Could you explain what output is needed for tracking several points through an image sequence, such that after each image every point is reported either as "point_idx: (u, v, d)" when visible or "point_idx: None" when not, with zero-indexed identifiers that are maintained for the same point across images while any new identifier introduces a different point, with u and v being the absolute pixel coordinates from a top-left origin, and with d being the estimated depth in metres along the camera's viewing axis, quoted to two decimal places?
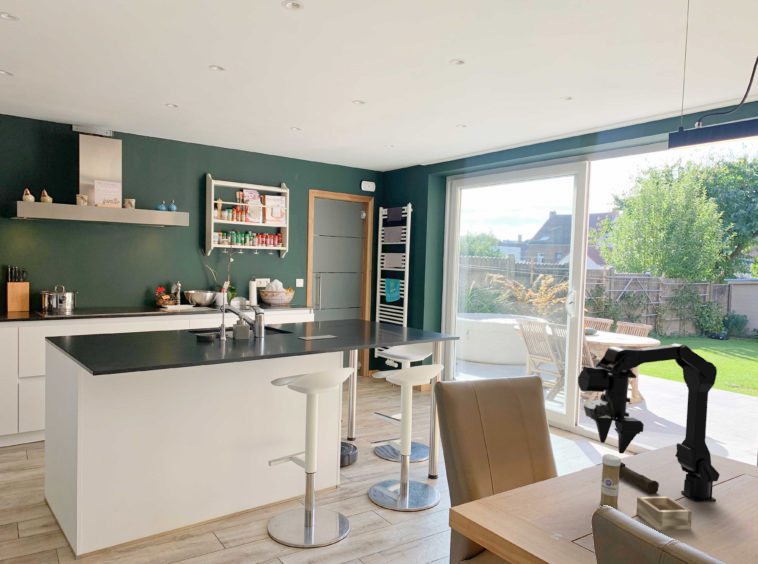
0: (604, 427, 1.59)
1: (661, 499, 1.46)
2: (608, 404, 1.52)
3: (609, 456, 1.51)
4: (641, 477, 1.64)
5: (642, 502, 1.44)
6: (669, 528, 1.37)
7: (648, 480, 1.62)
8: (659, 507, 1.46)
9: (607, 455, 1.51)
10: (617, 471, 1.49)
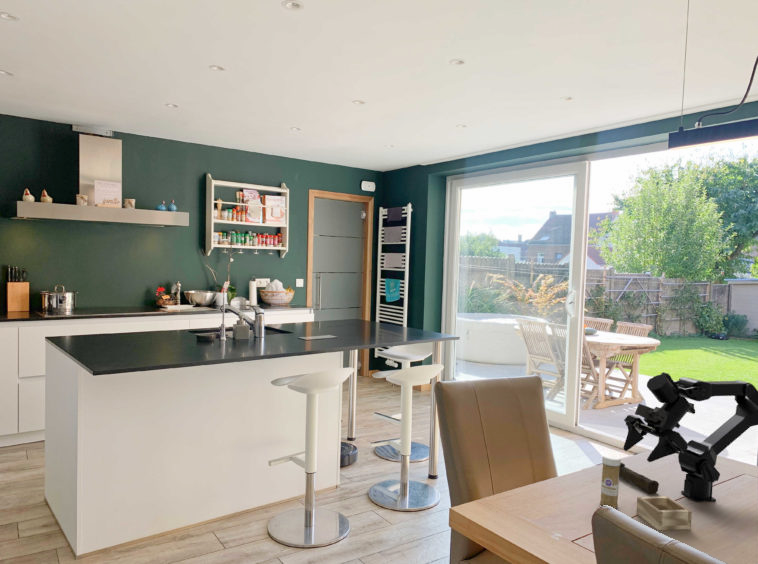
0: (634, 439, 1.58)
1: (661, 499, 1.46)
2: None
3: (609, 456, 1.51)
4: (641, 477, 1.64)
5: (642, 502, 1.44)
6: (669, 528, 1.37)
7: (648, 480, 1.62)
8: (659, 507, 1.46)
9: (607, 455, 1.51)
10: (617, 471, 1.49)
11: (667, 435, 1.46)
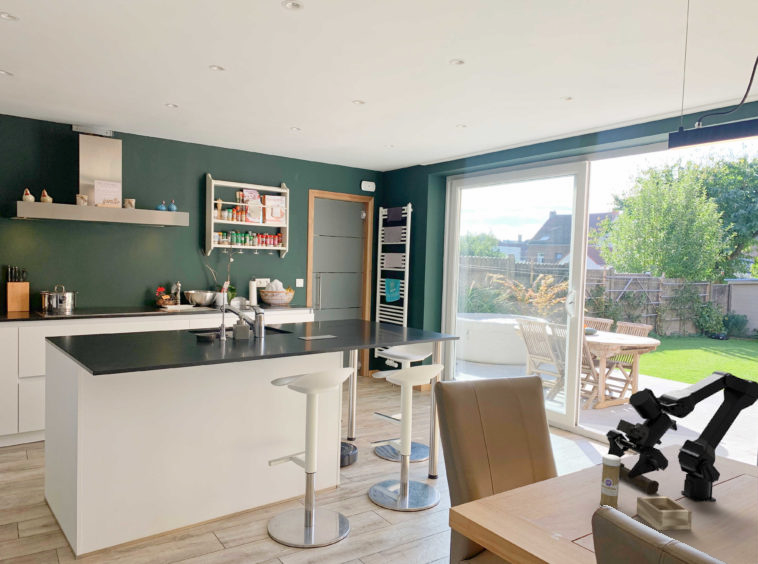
0: (615, 454, 1.56)
1: (661, 499, 1.46)
2: None
3: (609, 456, 1.51)
4: (641, 477, 1.64)
5: (642, 502, 1.44)
6: (669, 528, 1.37)
7: (648, 480, 1.62)
8: (659, 507, 1.46)
9: (607, 455, 1.51)
10: (617, 471, 1.49)
11: (648, 452, 1.45)
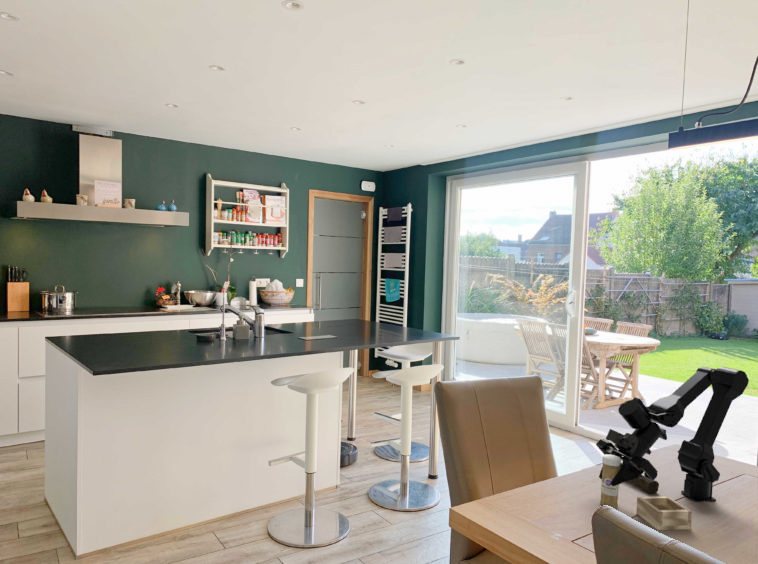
0: None
1: (661, 499, 1.46)
2: None
3: (609, 456, 1.51)
4: None
5: (642, 502, 1.44)
6: (669, 528, 1.37)
7: (648, 480, 1.62)
8: (659, 507, 1.46)
9: (607, 455, 1.51)
10: (617, 471, 1.49)
11: (637, 462, 1.44)
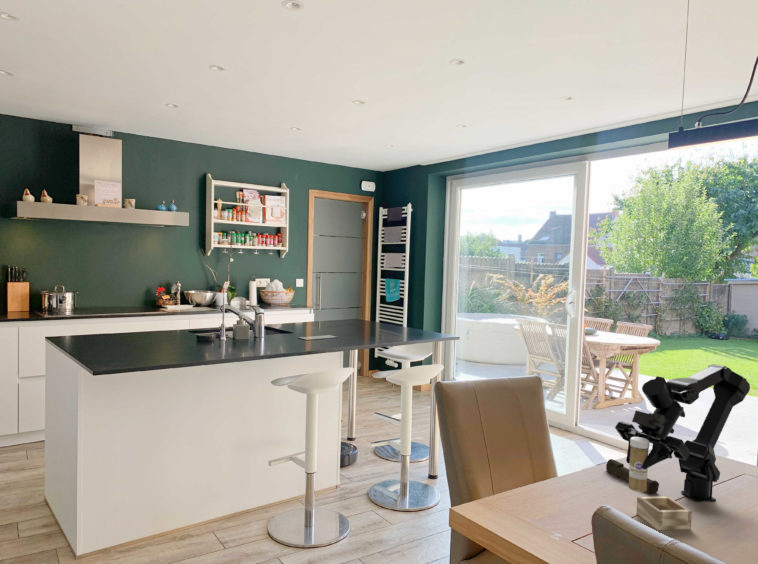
0: None
1: (661, 499, 1.46)
2: None
3: (637, 438, 1.45)
4: None
5: (642, 502, 1.44)
6: (669, 528, 1.37)
7: (648, 480, 1.62)
8: (659, 507, 1.46)
9: (635, 438, 1.46)
10: (647, 453, 1.44)
11: (671, 443, 1.40)
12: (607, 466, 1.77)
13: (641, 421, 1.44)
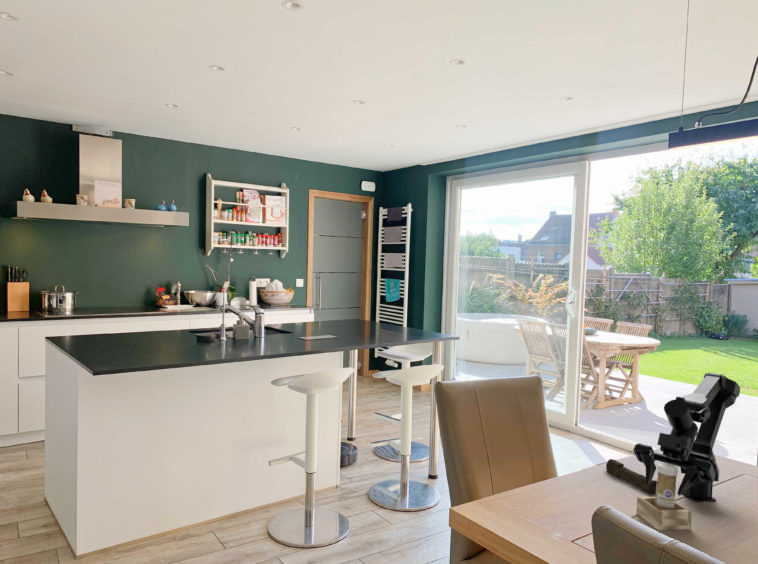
0: (652, 471, 1.46)
1: None
2: None
3: (665, 465, 1.42)
4: (641, 477, 1.64)
5: (642, 502, 1.44)
6: (669, 528, 1.37)
7: None
8: None
9: (662, 464, 1.42)
10: (675, 480, 1.41)
11: (700, 466, 1.37)
12: (607, 466, 1.77)
13: (669, 444, 1.41)
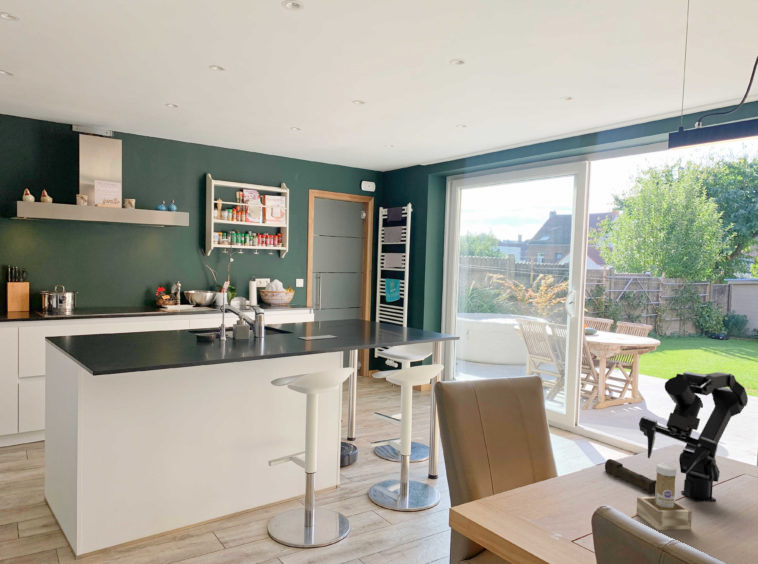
0: (653, 443, 1.51)
1: None
2: None
3: (664, 465, 1.42)
4: (641, 477, 1.64)
5: (642, 502, 1.44)
6: (669, 528, 1.37)
7: (648, 480, 1.62)
8: None
9: (661, 465, 1.42)
10: (674, 480, 1.41)
11: (707, 446, 1.42)
12: (606, 466, 1.76)
13: (679, 425, 1.43)
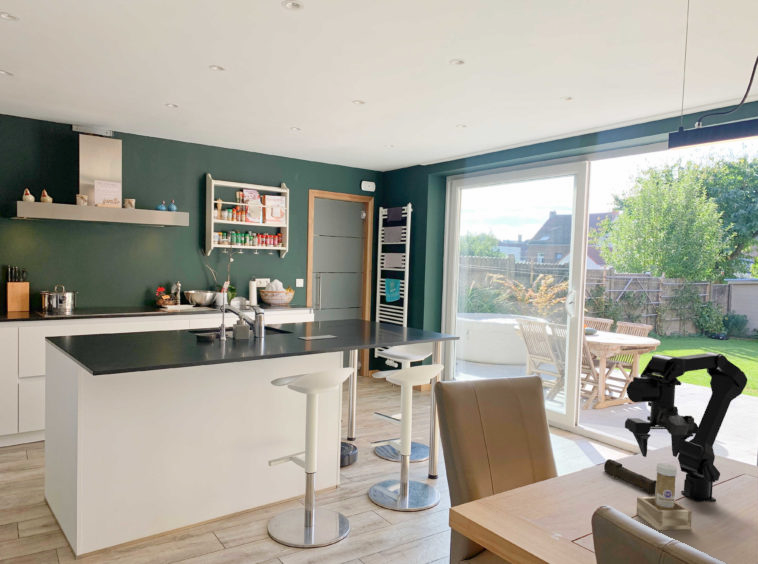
0: None
1: None
2: None
3: (664, 465, 1.42)
4: (641, 477, 1.64)
5: (642, 502, 1.44)
6: (669, 528, 1.37)
7: (648, 480, 1.62)
8: None
9: (661, 465, 1.42)
10: (674, 480, 1.41)
11: (693, 432, 1.51)
12: (605, 466, 1.76)
13: (682, 433, 1.46)
